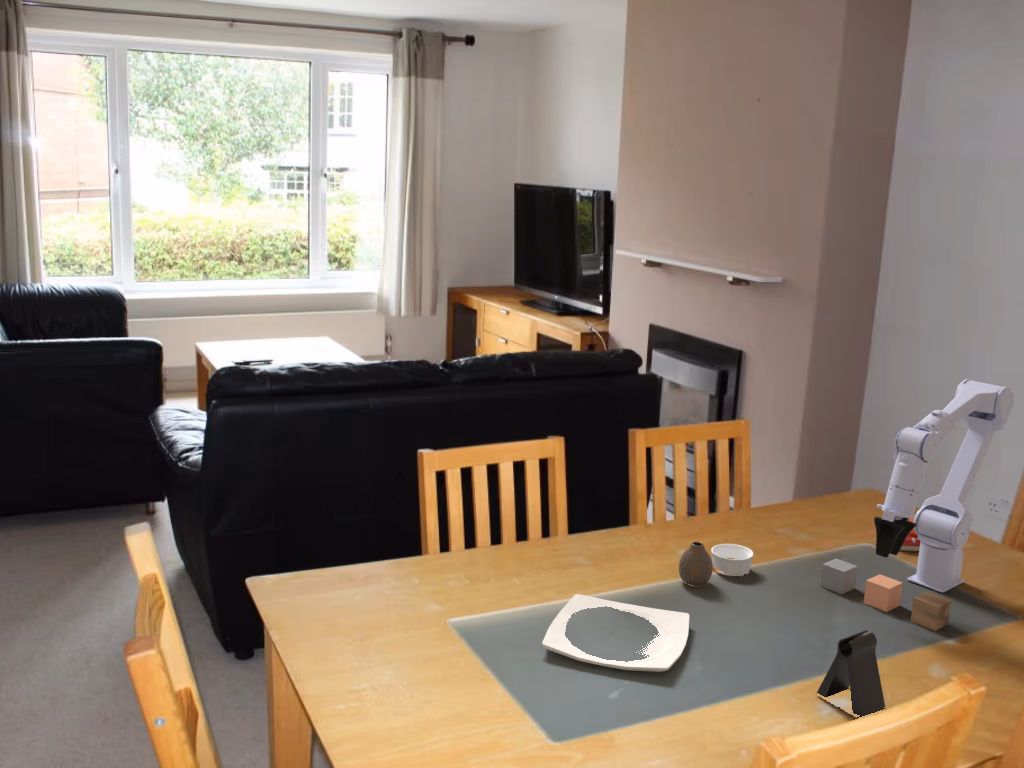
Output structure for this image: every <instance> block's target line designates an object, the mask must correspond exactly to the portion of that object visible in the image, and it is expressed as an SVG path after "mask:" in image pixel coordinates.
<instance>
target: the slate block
mask: <svg viewBox="0 0 1024 768" xmlns="http://www.w3.org/2000/svg"><path fill="white" fill-rule="evenodd" d="M821 567H822V568H821V575H820V576H821V577H820V584H819V585H820V587H822V588H824V589H827V590H829V591H832V592H834V593H837V594H839V595H843V594H845V593H848V592H850V591H852V590H855V588H856V582H857V573H858V565H855V564H853V563H850V562H847V561H844V560H842V559H838V558H834V559H832V560H830V561H829V560H828V561H826V562H824V563H822V565H821Z"/></svg>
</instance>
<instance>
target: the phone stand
mask: <svg viewBox="0 0 1024 768" xmlns="http://www.w3.org/2000/svg"><path fill="white" fill-rule="evenodd" d="M868 632H869V631H868V629H865V630H862V631H860V632H856V633H855V634H854V633H853V634H852V635H850V636H847V637H844V638H841V639H840V640H839V641H838V642H837V651H836V652H837V653H836V655H835V658H834V660H832V663H831V665H830V667H829V668H828V670H827V673H825V674H826V675H825V676H824V678H823V680H822V682H821V684H820V686H819V688H818V689H817V692H816V693H819V694H820V695H822V696H824V697H828V696H831V695H834V694H836V693H839V692H841V691H844V690H847V689H850V691H851V701H852V710H853V713H854V714H857V715H860V716H859V717H862V716H865V715H868V714H871V713H875V712H877V711H880V710H883V709H885V710H887V709H886V704H885V703H886V702H885V698H884V692H883V686H882V681H881V675H880V671H879V667H878V666H879V665H878V664H879V663H878V660H877V654H876V648H877V645H878V644H877V643H878V641H877V640H878V639H877V637H876V635H875V633H873V632H870V633H868ZM865 633H867V634H865ZM864 634H865V635H864ZM884 707H885V708H884ZM859 717H857V718H859Z"/></svg>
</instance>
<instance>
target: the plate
mask: <svg viewBox="0 0 1024 768" xmlns="http://www.w3.org/2000/svg"><path fill="white" fill-rule="evenodd" d="M605 606H607V607H612V608H614V609H618V610H620V611H625V612H630V613H633V614H635V615H637V616H640V617H643V618H645V619H646V620H649V622H650V623H652V625H654V626H655V627H656V628H657V630H658V632H659V633H658V635H659V634H660V635H659V636H658V635H657V636H658V637H657V636H656V635H655V636H656V638H654V639H653V640H652V641H650V643H651V644H650V643H649V644H650V645H649V644H648V643H647V644H648V646H647V645H646V646H647V648H648V649H647V648H646V647H645V648H646V649H645V648H643V649H645V650H643V649H642V650H643V653H644V654H646V655H645V656H647V655H649V657H648V656H647V658H645V659H642V660H634V661H628V662H625V661H616V660H606V659H602V658H599V657H596V656H592V655H589V654H586V653H585V652H583V651H581V650H580V649H578V648H577V647H575V646H573V645H572V644H571V642H570V641H569V640H568V638H566V636H565V632H566V631H565V630H566V625H567V622H568V621H569V620H568V619H570V618H571V615H572V614H573V613H575V612H578V611H580V610H582V609H583V610H584V609H587V608H590V609H591V608H597V607H605ZM575 614H576V613H575ZM689 630H690V614H689V613H688V612H682V611H673V610H669V609H668V610H667V609H666V610H665V609H661V608H654V607H648V606H641V605H635V604H631V603H624V602H620V601H613V600H608V599H604V598H603V599H602V598H599V597H594V596H590V595H584V594H581V593H580V594H579V593H577V594H574V595H573V596H572V597H571V598H570V599H569V601H568V602H567V603H566V604H565V605H564V606H563V608H562V609H561V610H560V611H559V612H558V614H557V615H556V616H555V618H553V621H552V622H551V623H550V625H549V627H548V629H547V631H546V633H545V635H544V637H543V640H542V643H541V645H542V646H543V647H544V648H546V650H548V651H551V652H553V653H556V654H558V655H561V656H565V657H567V658H570V659H572V660H576V661H578V662H583V663H588V664H590V665H591V664H593V665H598V666H602V667H608V668H612V669H618V670H623V671H639V672H655V673H656V672H657V673H658V672H659V673H662V672H666V671H668V670H669V669H671V668H672V666H673V665H674V664H676V662H677V661H678V660H679V659H680V658H681V656H682V655H683V652H684V651H685V650H684V649H685V647H686V645H687V642H688V638H689ZM655 636H654V637H655ZM653 641H654V642H653ZM652 642H653V643H652ZM642 647H643V646H642ZM646 650H647V651H646ZM640 651H641V650H640ZM644 651H645V652H644ZM638 652H639V651H638ZM636 653H637V652H636ZM641 653H642V652H641ZM643 653H642V655H644V654H643ZM639 654H640V653H639ZM645 656H644V657H645Z"/></svg>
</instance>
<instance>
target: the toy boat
mask: <svg viewBox="0 0 1024 768" xmlns="http://www.w3.org/2000/svg"><path fill="white" fill-rule="evenodd" d="M914 517H915V516H914ZM909 521H910V522H913V521H914V518H913V519H912V518H910V520H909ZM920 542H921V541H920V540H918V535H917V534H916V533H915V531H914V529H913V530H912V531H911V532H910V533H909V535H908V536H907V537H906V539H905V541H904V543H903V545H902V547H901V549H900V551H902V552H918V551H919V550H920Z"/></svg>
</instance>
